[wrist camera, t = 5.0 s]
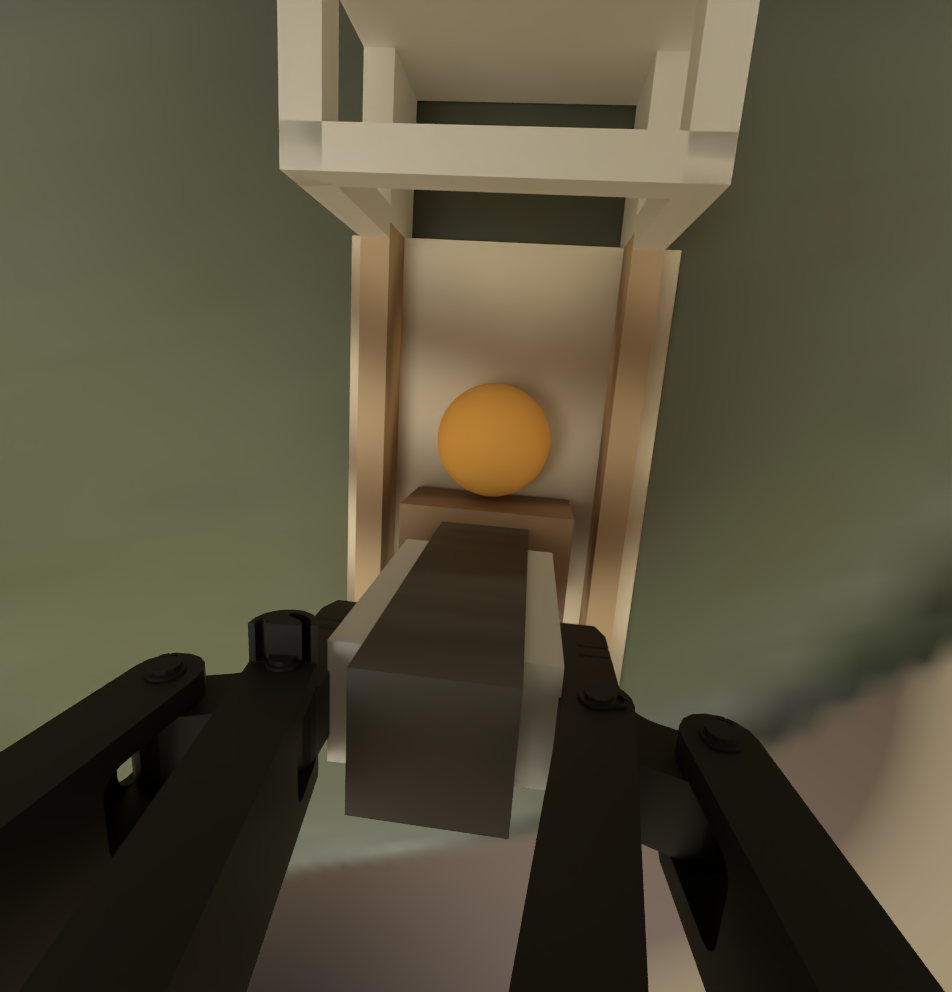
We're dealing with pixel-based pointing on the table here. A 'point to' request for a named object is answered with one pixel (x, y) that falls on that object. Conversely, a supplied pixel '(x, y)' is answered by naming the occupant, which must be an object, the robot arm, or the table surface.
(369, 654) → the sled
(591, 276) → the tray
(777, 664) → the table surface
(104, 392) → the table surface
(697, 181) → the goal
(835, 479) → the table surface
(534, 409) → the ball
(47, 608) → the table surface
